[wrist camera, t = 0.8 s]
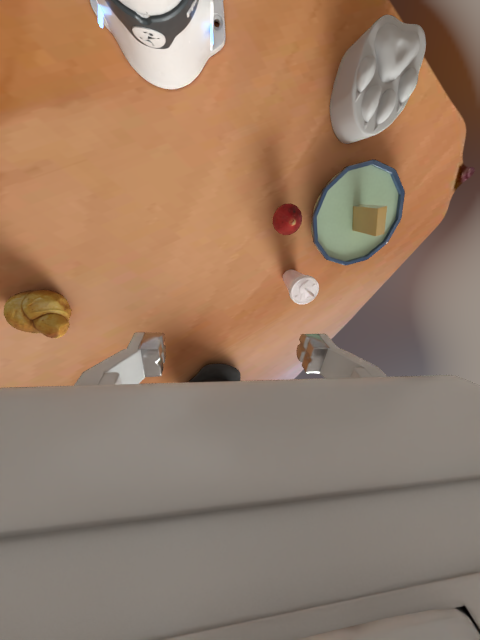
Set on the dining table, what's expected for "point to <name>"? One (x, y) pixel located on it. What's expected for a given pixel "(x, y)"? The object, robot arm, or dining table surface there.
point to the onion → (287, 219)
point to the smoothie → (300, 286)
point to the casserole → (217, 373)
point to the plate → (342, 212)
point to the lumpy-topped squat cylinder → (376, 79)
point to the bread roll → (38, 312)
